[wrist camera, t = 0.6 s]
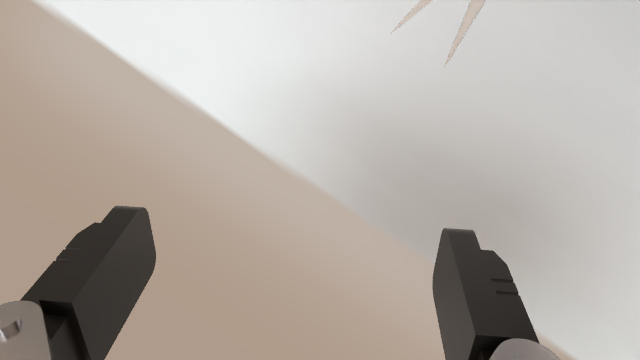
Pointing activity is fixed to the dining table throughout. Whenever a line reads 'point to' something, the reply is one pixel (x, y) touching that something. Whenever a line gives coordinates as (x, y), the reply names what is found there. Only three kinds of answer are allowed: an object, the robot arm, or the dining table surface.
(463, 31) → the scissors
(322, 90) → the dining table surface
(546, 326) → the dining table surface
